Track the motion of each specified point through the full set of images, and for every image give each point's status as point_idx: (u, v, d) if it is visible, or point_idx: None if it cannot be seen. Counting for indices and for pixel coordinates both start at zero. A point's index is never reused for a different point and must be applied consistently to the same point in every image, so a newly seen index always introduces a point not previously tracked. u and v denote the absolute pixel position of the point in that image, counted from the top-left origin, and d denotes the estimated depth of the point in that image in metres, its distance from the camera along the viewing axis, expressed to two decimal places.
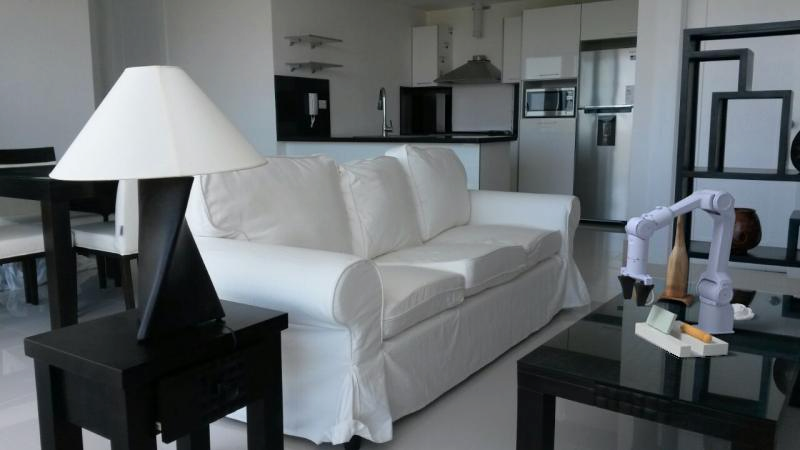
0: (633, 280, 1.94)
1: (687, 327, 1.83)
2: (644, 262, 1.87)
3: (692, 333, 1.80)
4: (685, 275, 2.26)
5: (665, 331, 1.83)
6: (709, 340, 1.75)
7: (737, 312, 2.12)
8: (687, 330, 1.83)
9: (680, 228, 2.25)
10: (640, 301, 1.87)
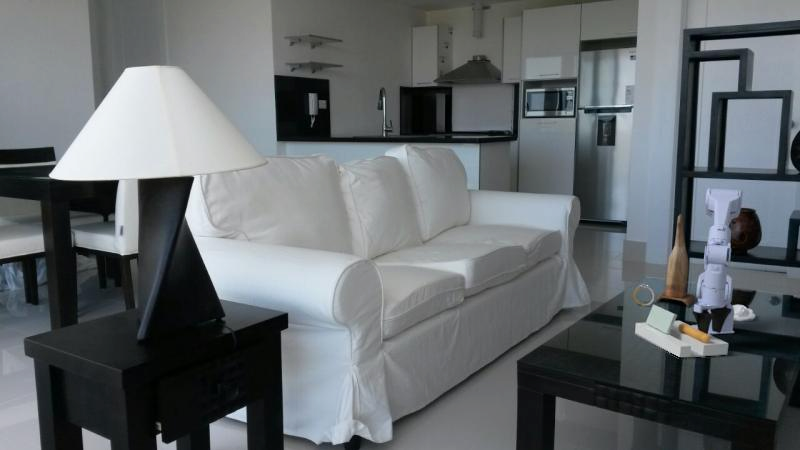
0: (723, 313, 1.81)
1: (684, 328, 1.83)
2: (710, 291, 1.78)
3: (690, 335, 1.80)
4: (685, 275, 2.26)
5: (665, 331, 1.83)
6: (707, 340, 1.75)
7: (738, 313, 2.11)
8: (685, 332, 1.83)
9: (680, 228, 2.25)
10: (700, 329, 1.80)
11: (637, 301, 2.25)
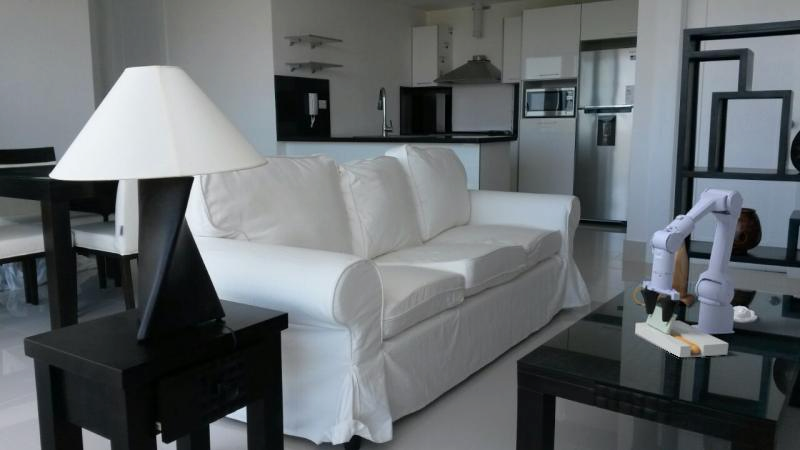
0: (657, 294, 1.90)
1: None
2: (670, 276, 1.82)
3: None
4: (685, 275, 2.26)
5: (665, 331, 1.83)
6: (697, 349, 1.75)
7: (739, 315, 2.09)
8: None
9: None
10: (666, 316, 1.82)
11: (637, 301, 2.25)
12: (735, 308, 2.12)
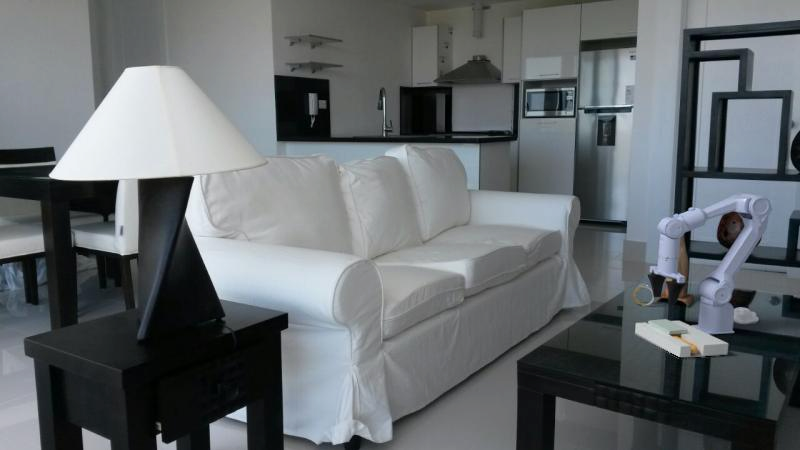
0: (663, 278, 2.00)
1: None
2: (675, 261, 1.92)
3: None
4: (685, 275, 2.26)
5: (669, 330, 1.83)
6: (695, 349, 1.75)
7: (741, 316, 2.07)
8: None
9: None
10: (672, 299, 1.92)
11: (637, 301, 2.25)
12: (737, 309, 2.11)
